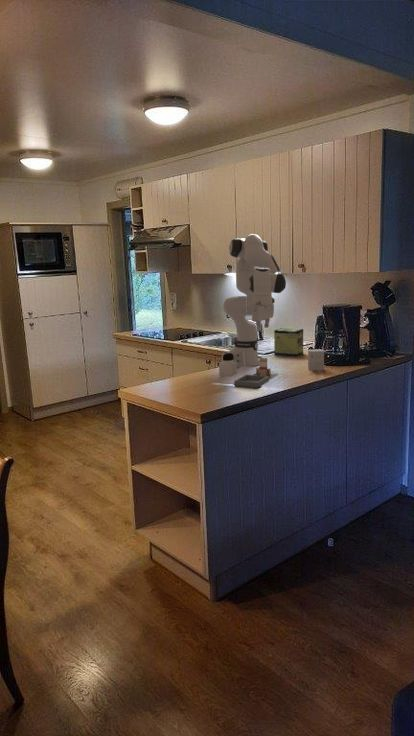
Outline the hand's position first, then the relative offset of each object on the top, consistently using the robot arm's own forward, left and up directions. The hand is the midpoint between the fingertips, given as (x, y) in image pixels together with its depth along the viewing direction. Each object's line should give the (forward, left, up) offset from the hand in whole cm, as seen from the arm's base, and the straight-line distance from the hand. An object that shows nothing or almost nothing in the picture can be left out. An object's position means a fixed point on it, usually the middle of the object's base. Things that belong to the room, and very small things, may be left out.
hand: (263, 328), depth 261 cm
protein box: (-9, +65, -26) cm, 70 cm away
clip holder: (0, 0, -25) cm, 25 cm away
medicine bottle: (-19, -2, -25) cm, 32 cm away
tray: (0, -15, -25) cm, 29 cm away
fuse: (0, 0, -24) cm, 24 cm away
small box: (+19, +28, -26) cm, 42 cm away
